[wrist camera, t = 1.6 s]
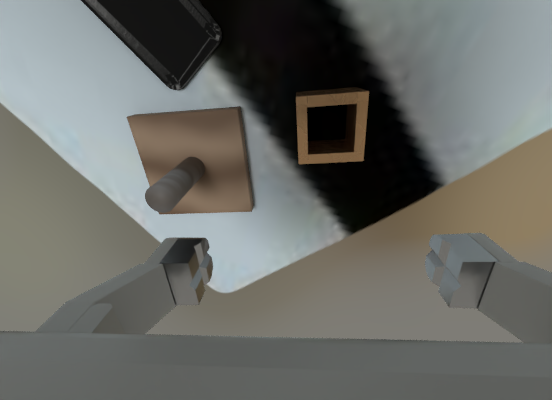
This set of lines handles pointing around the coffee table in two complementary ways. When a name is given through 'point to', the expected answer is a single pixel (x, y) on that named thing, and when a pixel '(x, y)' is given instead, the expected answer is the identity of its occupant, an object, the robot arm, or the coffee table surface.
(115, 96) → the coffee table surface
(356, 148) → the wooden square sleeve
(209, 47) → the phone
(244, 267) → the coffee table surface
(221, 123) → the post stand
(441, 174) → the coffee table surface
